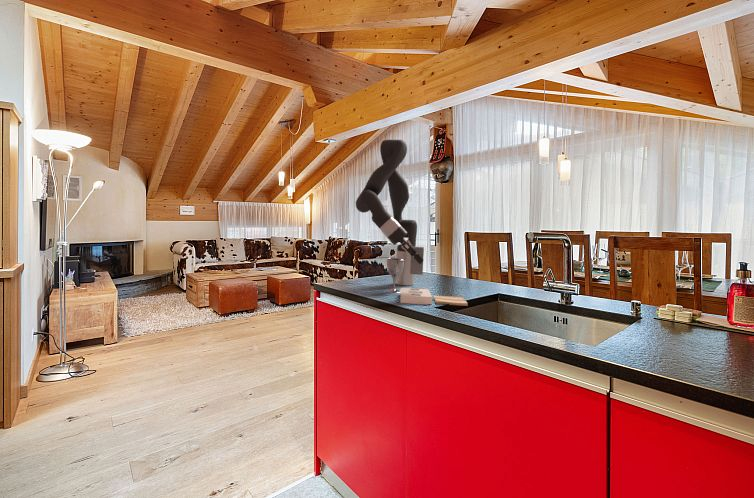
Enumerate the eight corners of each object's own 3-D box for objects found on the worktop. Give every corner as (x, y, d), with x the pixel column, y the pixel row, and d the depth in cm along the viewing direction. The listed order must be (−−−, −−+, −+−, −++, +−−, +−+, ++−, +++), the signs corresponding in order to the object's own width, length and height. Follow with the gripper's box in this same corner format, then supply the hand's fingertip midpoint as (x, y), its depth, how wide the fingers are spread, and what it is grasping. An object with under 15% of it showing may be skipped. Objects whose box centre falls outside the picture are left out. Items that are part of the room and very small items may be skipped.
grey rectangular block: (409, 272, 154) (411, 246, 154) (422, 273, 154) (423, 247, 153) (410, 274, 150) (411, 247, 150) (422, 274, 150) (423, 247, 149)
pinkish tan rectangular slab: (400, 294, 162) (400, 287, 162) (428, 296, 161) (428, 288, 161) (400, 302, 144) (400, 294, 144) (431, 304, 143) (431, 296, 143)
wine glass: (382, 290, 171) (383, 257, 170) (397, 289, 175) (399, 257, 174) (390, 293, 164) (391, 259, 163) (405, 292, 167) (407, 259, 166)
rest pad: (433, 297, 158) (433, 295, 158) (462, 299, 157) (462, 297, 157) (436, 304, 145) (436, 301, 145) (467, 305, 144) (467, 303, 144)
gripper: (400, 224, 144) (429, 257, 144) (400, 224, 158) (427, 254, 159) (385, 237, 145) (415, 270, 145) (387, 236, 159) (414, 265, 159)
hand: (421, 261), depth 152 cm, fingers closed on grey rectangular block, 4 cm apart
